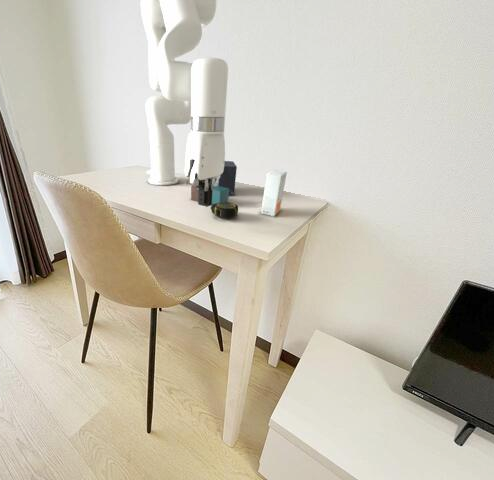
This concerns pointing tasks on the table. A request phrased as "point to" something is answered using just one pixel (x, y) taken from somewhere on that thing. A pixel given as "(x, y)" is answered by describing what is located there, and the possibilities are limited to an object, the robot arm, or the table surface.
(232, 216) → the tape measure
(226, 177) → the small box
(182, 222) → the table surface
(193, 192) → the walnut block
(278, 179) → the cosmetic box
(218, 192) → the teal block
